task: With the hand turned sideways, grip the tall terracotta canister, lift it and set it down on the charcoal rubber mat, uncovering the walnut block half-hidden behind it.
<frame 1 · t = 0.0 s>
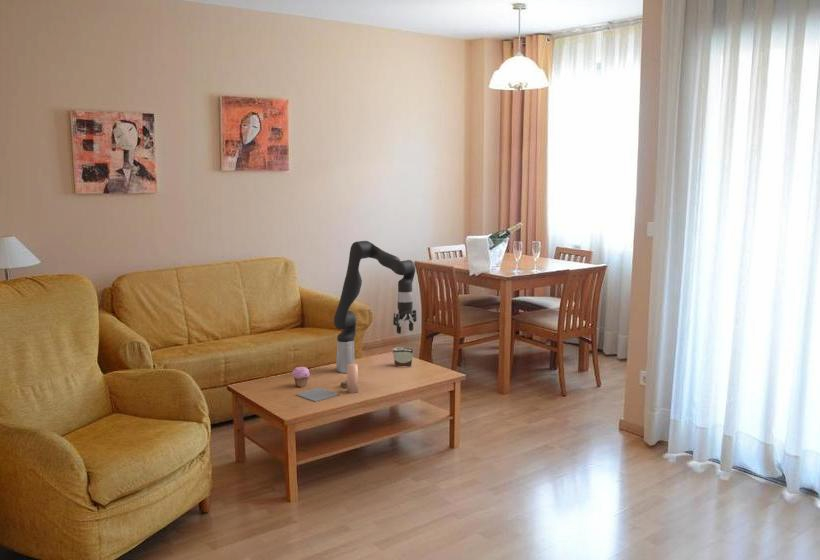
hand: (405, 332, 367), 29 cm above the table, tool pointing down, fingers open, 8 cm apart
cupcake: (301, 386, 375), on the table
food container: (403, 365, 413), on the table
terracotta canister: (352, 391, 366), on the table
charcoal mat: (317, 395, 360), on the table
walnut block: (347, 386, 374), on the table
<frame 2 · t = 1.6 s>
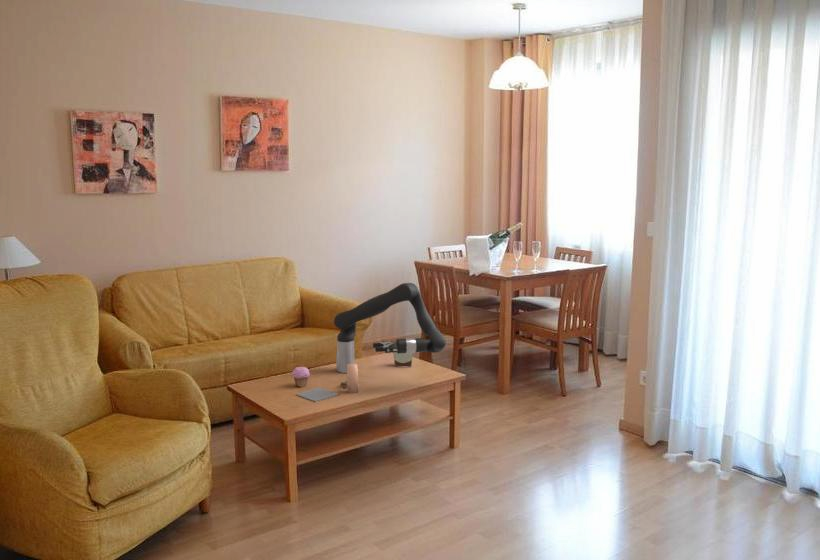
hand: (374, 347, 364), 22 cm above the table, tool horizontal, fingers open, 8 cm apart
nothing on the table moved.
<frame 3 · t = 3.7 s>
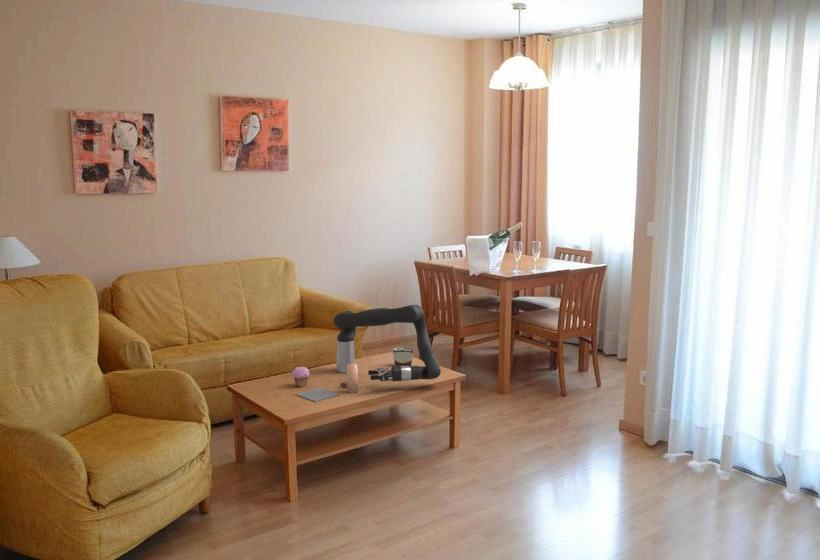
hand: (369, 375, 366), 8 cm above the table, tool horizontal, fingers open, 8 cm apart
nothing on the table moved.
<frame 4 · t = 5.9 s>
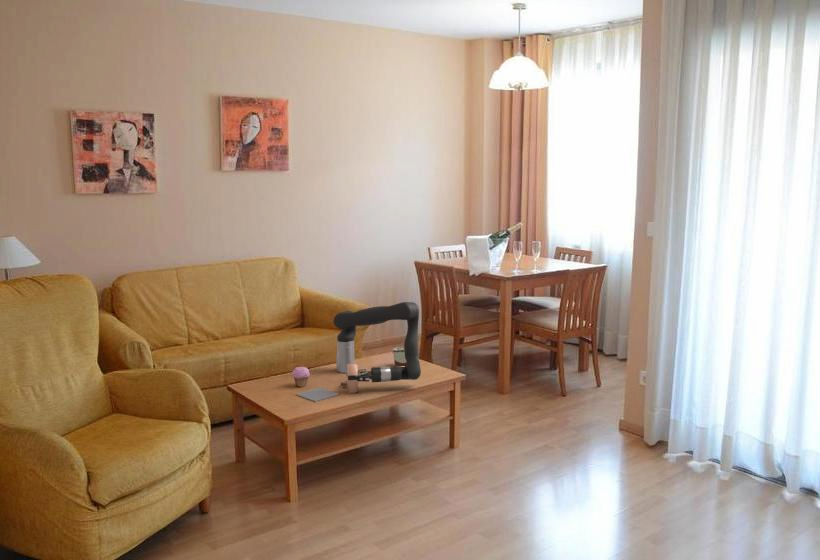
hand: (347, 376, 364), 8 cm above the table, tool horizontal, fingers closed on terracotta canister, 5 cm apart
terracotta canister: (352, 391, 366), on the table, touching gripper
everything else where it was.
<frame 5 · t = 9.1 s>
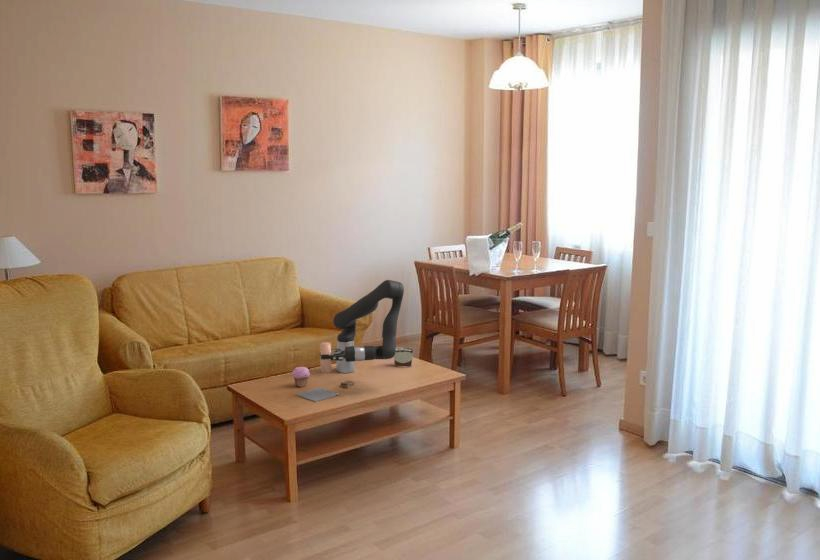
hand: (320, 355, 357), 20 cm above the table, tool horizontal, fingers closed on terracotta canister, 5 cm apart
terracotta canister: (326, 371, 359), point 12 cm above the table, touching gripper
everything else where it was.
when the fingers open (10 cm above the table, at t = 11.9 s): terracotta canister drops 1 cm, resting on charcoal mat.
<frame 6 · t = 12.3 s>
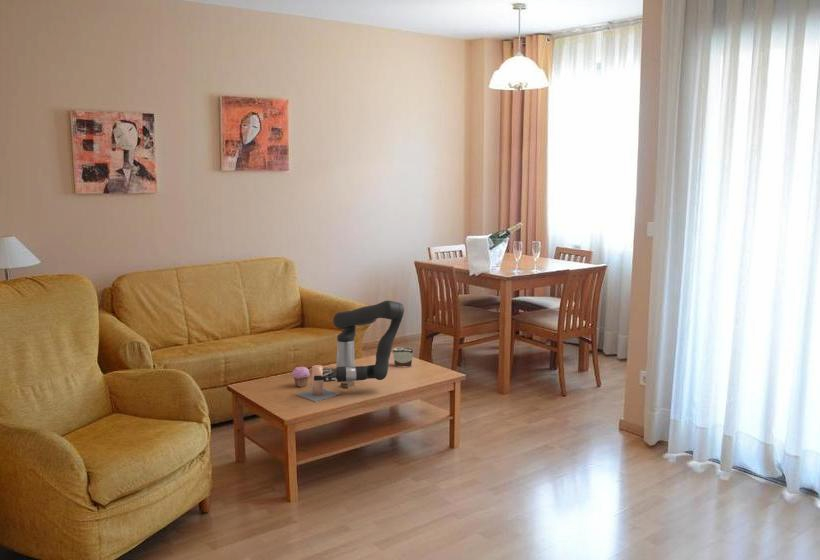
hand: (313, 375, 358), 10 cm above the table, tool horizontal, fingers open, 8 cm apart
terracotta canister: (317, 394, 360), point 1 cm above the table, touching charcoal mat
everything else where it was.
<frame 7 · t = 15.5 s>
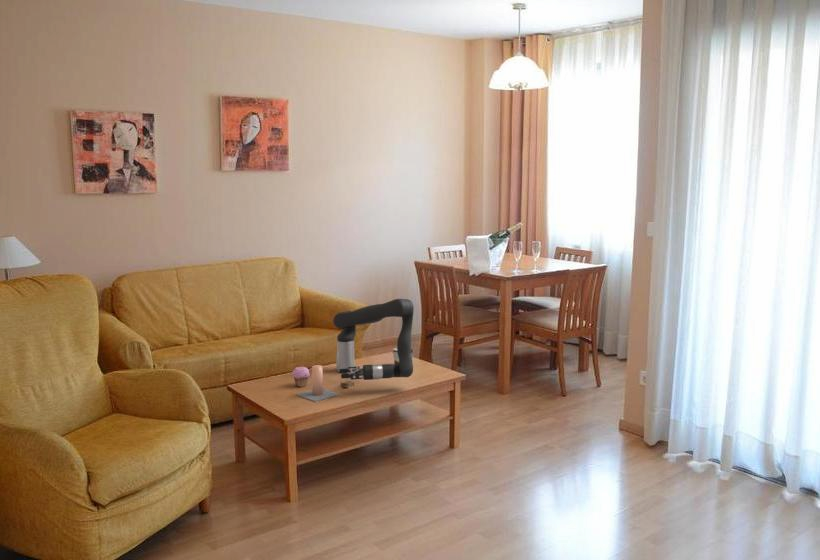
hand: (340, 373, 361), 10 cm above the table, tool horizontal, fingers open, 8 cm apart
nothing on the table moved.
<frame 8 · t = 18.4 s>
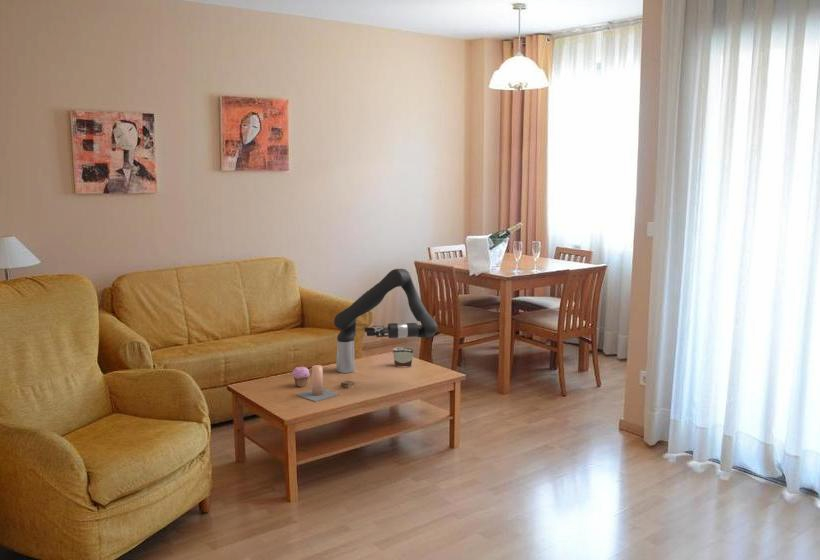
hand: (365, 331, 364), 30 cm above the table, tool horizontal, fingers open, 8 cm apart
nothing on the table moved.
at the end: terracotta canister inside the target area on the charcoal mat (0.1 cm from its centre), point 0.6 cm above the charcoal mat's base; terracotta canister tilted 0°; walnut block moved 0.3 cm from its start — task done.
